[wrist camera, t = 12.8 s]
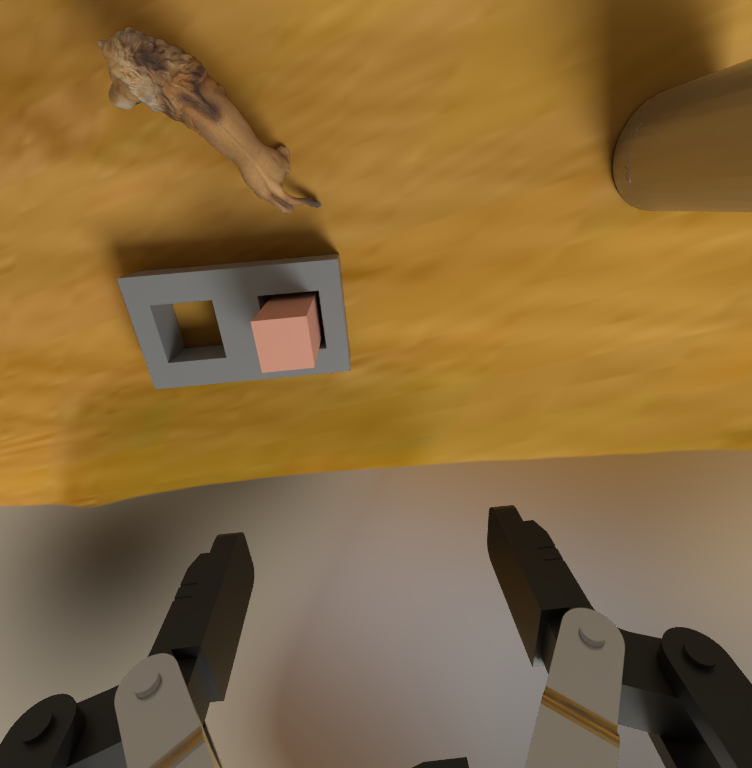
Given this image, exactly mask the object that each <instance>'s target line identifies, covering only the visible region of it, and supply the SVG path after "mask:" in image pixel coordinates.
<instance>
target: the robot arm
mask: <svg viewBox="0 0 752 768" xmlns="http://www.w3.org/2000/svg"><path fill="white" fill-rule="evenodd" d="M613 175H614V182H615V184H616V187H617V190H618V192H619V193H620V195H621V196H622V198H623V199H624V200H625V201H626V202H628V203H629V204H630V205H631V206H634V207H636V208H638V209H642V210H649V211H699V212H752V59H750V60H747V61H744V62H742V63H739V64H736V65H733V66H731V67H728V68H725V69H723V70H720V71H717V72H714V73H712V74H709V75H706V76H703V77H700V78H697V79H695V80H692V81H689V82H687V83H684V84H681V85H678V86H676V87H673V88H670V89H667V90H665V91H662V92H660V93H658V94H657V95H655V96H653V97H651V98H650V99H649V100H647V101H646V102H645V103H644V104H643V105H641V106H640V107H639V108H638V109H637V110H636V112H635V113H634V114H633V115H632V116H631V117H630V119H629V120H628V122H627V124H626V125H625V127H624V128H623V130H622V132H621V135H620V137H619V139H618V142H617V144H616V148H615V153H614V157H613ZM487 546H488V553H489V557H490V561H491V563H492V566H493V568H494V571H495V573H496V576H497V578H498V581H499V584H500V586H501V589H502V591H503V594H504V596H505V599H506V601H507V604H508V606H509V609H510V611H511V614H512V616H513V619H514V622H515V624H516V627H517V629H518V632H519V634H520V637H521V639H522V641H523V644H524V647H525V649H526V652H527V654H528V657H529V659H530V662H531V664H532V667H541V666H545V667H546V670H547V672H548V674H549V675H548V679H547V684H546V687H545V691H544V693H543V696H542V700H541V704H540V708H539V712H538V716H537V720H536V724H535V728H534V732H533V736H532V740H531V744H530V748H529V752H528V757H527V760H526V764H525V768H618V758H619V745H620V743H619V742H620V739H619V734H618V733H617V726H618V724H620V725H623V726H627V727H631V728H634V729H639V730H642V731H646V732H648V734H649V736H650V738H651V740H652V742H653V743H654V746H655V748H656V750H657V752H658V754H659V756H660V757H661V759H662V761H663V763H664V765H665V767H666V768H752V684H751V683H750V682H749V680H748V679H747V678H746V676H745V675H744V674H743V673H742V671H741V670H740V669H739V667H738V666H737V665H736V664H735V662H734V661H733V660H732V658H731V657H730V656H729V655H728V654H727V652H726V651H725V650H724V649H723V648H722V647H721V646H720V645H719V644H717V643H716V642H715V641H713V640H712V639H711V638H709V637H707V636H706V635H704V634H701V633H700V632H698V631H695V630H692V629H689V628H684V627H675V628H671V629H668V630H667V631H666V632H665V633H664V635H663V637H662V639H661V638H655V637H651V636H646V635H641V634H636V633H632V632H628V631H625V630H622V629H620V628H618V627H616V625H615V624H614V623H613V622H612V621H611V620H609V619H608V618H607V617H606V616H604V615H602V614H601V613H599V612H597V611H595V610H594V609H593V607H592V606H591V604H590V602H589V601H588V599H587V598H586V596H585V594H584V593H583V591H582V589H581V588H580V586H579V584H578V583H577V581H576V579H575V578H574V576H573V574H572V573H571V571H570V569H569V568H568V566H567V564H566V563H565V561H563V559H562V556H561V555H560V553H559V551H558V550H557V549H556V547H555V544H554V543H553V541H552V539H551V538H550V536H549V535H548V533H547V532H546V531H545V530H544V529H543V528H542V527H541V526H539V525H538V524H537V523H536V522H535V521H533V520H531V521H523V520H522V518H521V517H520V515H519V513H518V511H517V509H516V508H515V507H514V506H513V505H510V506H500V507H491V508H490V509H489V519H488V535H487ZM253 584H254V566H253V562H252V559H251V556H250V552H249V549H248V545H247V542H246V538H245V535H244V533H242V532H239V533H229V534H220V535H218V536H217V537H216V539H215V541H214V543H213V546H212V548H211V551H210V553H203V554H200V555H199V556H198V557H197V559H196V560H195V561H194V562H193V563H192V564H191V565H190V566H189V568H188V569H187V571H186V573H185V576H184V578H183V580H182V582H181V587H180V588H179V589H178V591H177V593H176V596H175V600H174V601H173V602H172V605H171V607H170V609H169V611H168V614H167V616H166V618H165V620H164V623H163V625H162V627H161V629H160V631H159V634H158V636H157V638H156V640H155V643H154V645H153V647H152V649H151V652H150V653H149V656H148V657H147V658H145V659H144V660H142V661H140V662H139V663H138V664H136V665H135V666H134V667H133V668H132V669H131V670H130V671H129V672H128V673H127V674H126V675H125V677H124V678H123V679H122V681H121V683H120V684H119V685H118V686H116V687H113V688H111V689H109V690H107V691H105V692H102V693H100V694H98V695H95V696H93V697H91V698H88V699H86V700H84V701H81V702H79V703H76V701H75V700H74V699H73V698H72V697H71V696H70V695H67V694H57V695H53V696H51V697H48V698H46V699H44V700H42V701H40V702H38V703H37V704H35V705H34V706H33V707H31V708H30V709H29V710H27V711H26V712H25V713H24V714H23V715H22V716H21V717H20V718H19V719H18V720H17V721H16V722H15V723H14V725H13V726H12V727H11V728H10V730H9V731H8V733H7V734H6V736H5V738H4V739H3V741H2V742H1V744H0V768H223V765H222V763H221V760H220V758H219V755H218V752H217V750H216V747H215V745H214V742H213V740H212V737H211V734H210V732H209V729H208V726H207V724H206V721H205V718H206V714H207V710H208V707H209V703H210V702H216V701H224V698H225V694H226V690H227V686H228V682H229V679H230V674H231V671H232V667H233V663H234V659H235V655H236V651H237V647H238V643H239V639H240V635H241V631H242V628H243V624H244V620H245V615H246V612H247V608H248V604H249V600H250V596H251V592H252V588H253ZM413 768H469V766H468V761H467V757H463V758H456V759H447V760H438V761H429V762H423V763H421V764H419V765H417V766H415V767H413Z"/></svg>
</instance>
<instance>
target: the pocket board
mask: <svg viewBox="0 0 752 768" xmlns="http://www.w3.org/2000/svg"><path fill="white" fill-rule="evenodd" d="M117 281H118V284H119V287H120V290H121V292H122V295H123V298H124V301H125V304H126V307H127V310H128V313H129V315H130V318H131V321H132V324H133V327H134V330H135V333H136V335H137V338H138V341H139V344H140V347H141V350H142V353H143V356H144V358H145V361H146V364H147V367H148V370H149V373H150V376H151V379H152V381H153V384H154V387H155V389H163V388H174V387H184V386H195V385H205V384H216V383H227V382H237V381H248V380H259V379H269V378H280V377H291V376H301V375H312V374H322V373H333V372H344V371H350V348H349V339H348V330H347V321H346V312H345V303H344V294H343V285H342V276H341V267H340V258H339V254H330V255H319V256H307V257H296V258H284V259H273V260H261V261H250V262H238V263H227V264H215V265H204V266H192V267H181V268H169V269H158V270H146V271H139V272H136V273H133V274H129V275H126V276H123V277H120V278H117ZM308 291H319V296H320V304H321V311H322V318H323V326H324V333H325V335H324V336H322V337H321V341H320V346H319V351H318V355H317V360H316V364H315V368H307V369H296V370H286V371H276V372H266V373H262V371H261V366H260V362H259V357H258V353H257V348H256V344H255V339H254V335H253V330H252V326H251V320H252V319H253V318H254V317H255V316H256V314H257V313H258V312H259V311H260V310H261V309H262V307H263V306H264V305H265V304H266V303H267V302H268V300H269V298H268V295H274V294H285V293H297V292H308ZM207 300H212V302H213V306H214V310H215V314H216V318H217V322H218V326H219V330H220V334H221V338H222V342H223V345H215V346H204V347H194V348H185V345H184V342H183V339H182V335H181V332H180V329H179V325H178V322H177V319H176V315H175V312H174V308H173V305H172V304H173V303H184V302H196V301H207Z"/></svg>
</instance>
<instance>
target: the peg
mask: <svg viewBox="0 0 752 768" xmlns="http://www.w3.org/2000/svg"><path fill="white" fill-rule="evenodd" d="M251 326H252V330H253V335H254V339H255V344H256V348H257V353H258V357H259V362H260V366H261V371H262V373H266V372H276V371H286V370H296V369H307V368H315V364H316V360H317V355H318V351H319V346H320V341H321V337H322V332H323V326H322V319H321V312H320V305H319V298H318V291H308V292H297V293H285V294H274V295H273V296H272V297H271V298H270V299H269V300H268V302H267V303H266V304H265V305H264V306H263V307H262V309H261V310H260V311H259V312H258V313H257V314H256V316H255V317H254V318H253V319H252V320H251Z"/></svg>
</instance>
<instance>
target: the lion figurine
mask: <svg viewBox="0 0 752 768" xmlns="http://www.w3.org/2000/svg"><path fill="white" fill-rule="evenodd" d="M98 45H99V47H100V48H101V49H102V50H103V55H104V57H105V58H106V59H107V64H108V67H109V68H110V69H109V74H110V78H111V80H112V82H113V84H112V85H111V88H110V90H109V98H110V101H111V103H112V104H113V105H114V106H116V107H118V108H120V107H122V108H124V109H131V108H133V107H134V105H136V104H139V103H141V102H143V103H144V104H146V105H147V106H148V107H150V108H151V109H152V110H153V111H155V112H163V113H164V114H166V115H167V116H169V117H170V118H172V119H173V120H175V121H180V122H183V123H184V124H185V125H186V126H187V127H188V128H190V129H193V130H194V131H196V132H197V133H199V134H200V136H202V137H204V138H205V139H206V140H207V141H208V142H209V143H210V144H211V145H212V146H213V147H215V148H216V149H217V150H218V151H220V152H221V153H222V154H224V155H225V156H226V157H228V158H229V159H230V160H232V161H234V162H235V163H236V164H237V166H238V168H239V170H240V172H241V174H242V176H243V179H244V181H245V183H246V184H247V185H248V186H249V187H250V188H251V189H252V190H253V191H254V193H255V194H256V195H257V196H258V197H260V198H261V199H264V200H266V201H268V202H269V203H271V204H272V205H274V206H275V207H276V208H277V209H278V210H279V211H280V212H282V213H285V214H289V213H291V212H292V210H293V206H292V205H310V206H311V207H316V208H318V207H320V206H321V203H320V202H319V201H317V200H315V199H313V198H295V197H292V196H290V195H289V194H287V193H286V192H285V191H284V189H283V188H282V184H281V183H282V181H283V180H284V178H285V174H286V173H289V172H290V169H291V168H290V154H289V151H288V149H287V148H286V147H285V146H279V147H277V149H276V150H275V149H273V148H271V147H267V146H265V145H264V144H262V143H261V142H260V141H259V140H258V139H257V137H256V135H255V134H254V132H253V130H252V128H251V127H250V125H249V124H248V123H247V121H246V120H245V119H244V118H243V116H242V115H241V113H240V112H239V111H238V109H237V108H236V107H235V106H234V105H233V104H232V102H231V101H230V100H229V99H228V98H227V97H226V93H225V90H224V88H223V87H222V86H221V85H217V83H216V82H215V81H214V80H213V79H212V78H211V77H210V76H209V75H208V74H207V72H206V70H205V68H204V67H203V65H202V64H201V63H200V62H199V61H198V60H197V59H196V58H194V57H193V56H191V55H190V54H186V53H185V51H184V50H183V49H181V48H180V47H178V46H173V45H171V44H169V43H167V42H166V41H164V40H163V39H155V38H154V37H152V36H147V35H146V34H145V33H143V32H140V31H136V30H134V29H132V28H130V27H128V28H126V30H125V31H124V32H122V31H118V32H115V34H114V35H113V36H111V37H110V38H109V39H108V40H107V41H103V40H101V41H98ZM279 198H280V199H279Z"/></svg>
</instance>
